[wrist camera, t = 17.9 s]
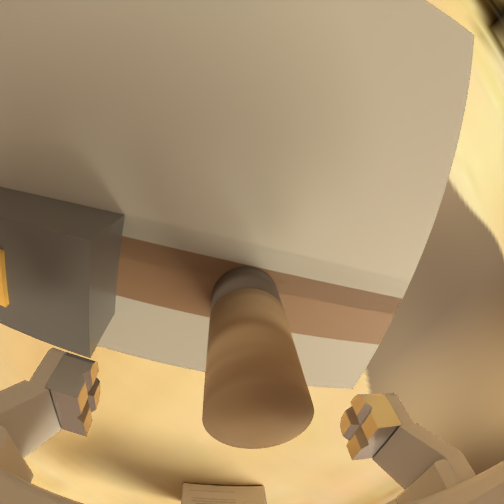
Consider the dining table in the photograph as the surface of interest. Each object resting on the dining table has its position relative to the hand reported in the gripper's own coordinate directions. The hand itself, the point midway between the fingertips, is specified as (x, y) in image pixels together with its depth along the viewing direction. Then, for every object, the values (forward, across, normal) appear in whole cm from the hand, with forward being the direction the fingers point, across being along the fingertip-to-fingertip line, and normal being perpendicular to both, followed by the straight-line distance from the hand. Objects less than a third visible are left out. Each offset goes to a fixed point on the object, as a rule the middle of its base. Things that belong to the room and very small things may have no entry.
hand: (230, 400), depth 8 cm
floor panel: (+8, +4, -7) cm, 11 cm away
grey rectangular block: (+6, +9, -1) cm, 11 cm away
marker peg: (+6, -1, 0) cm, 6 cm away
